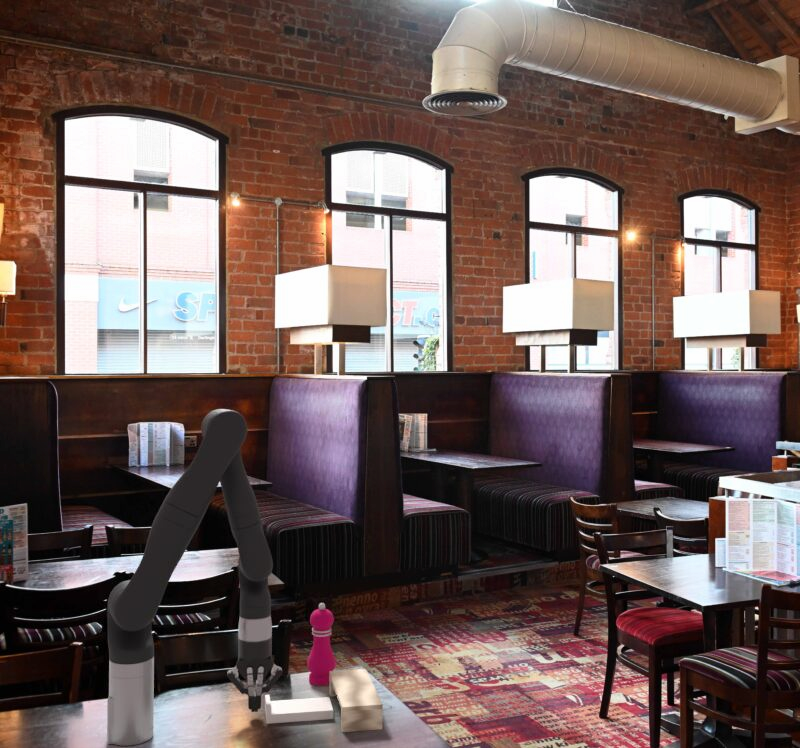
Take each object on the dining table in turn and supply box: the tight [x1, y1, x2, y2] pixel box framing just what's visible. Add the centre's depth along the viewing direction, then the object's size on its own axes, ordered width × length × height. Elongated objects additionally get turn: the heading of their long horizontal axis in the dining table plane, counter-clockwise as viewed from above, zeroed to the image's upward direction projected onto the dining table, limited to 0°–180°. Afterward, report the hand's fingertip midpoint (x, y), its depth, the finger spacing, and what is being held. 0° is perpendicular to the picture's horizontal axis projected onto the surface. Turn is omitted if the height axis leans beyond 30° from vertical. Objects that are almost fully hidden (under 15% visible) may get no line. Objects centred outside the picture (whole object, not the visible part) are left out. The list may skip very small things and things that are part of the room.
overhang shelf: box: [328, 668, 384, 733], centre depth 204 cm, size 9×23×6 cm, turn 12°
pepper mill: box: [306, 602, 337, 687], centre depth 223 cm, size 7×7×20 cm
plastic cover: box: [264, 694, 334, 725], centre depth 202 cm, size 15×8×4 cm, turn 102°
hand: (254, 710), depth 200 cm, fingers closed
